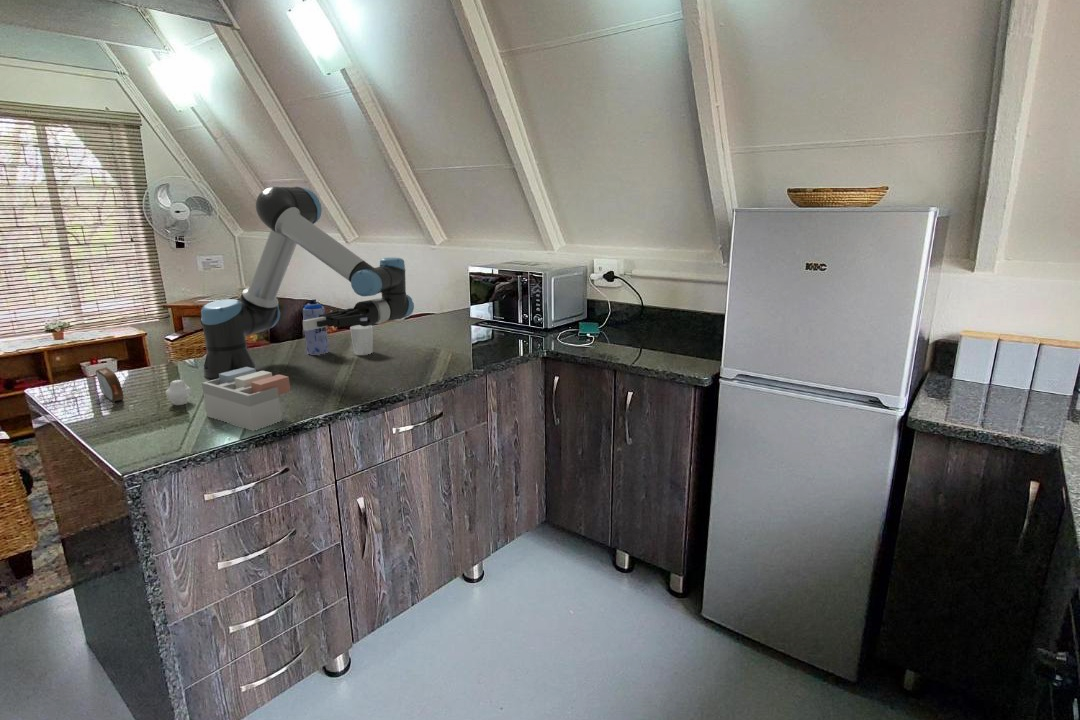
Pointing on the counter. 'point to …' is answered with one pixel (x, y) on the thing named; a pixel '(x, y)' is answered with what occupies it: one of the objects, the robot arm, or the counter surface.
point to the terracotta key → (272, 384)
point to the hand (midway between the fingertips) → (304, 325)
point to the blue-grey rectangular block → (235, 374)
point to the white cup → (362, 339)
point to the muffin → (178, 392)
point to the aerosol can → (315, 330)
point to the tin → (109, 384)
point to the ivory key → (251, 378)
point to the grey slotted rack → (241, 404)
